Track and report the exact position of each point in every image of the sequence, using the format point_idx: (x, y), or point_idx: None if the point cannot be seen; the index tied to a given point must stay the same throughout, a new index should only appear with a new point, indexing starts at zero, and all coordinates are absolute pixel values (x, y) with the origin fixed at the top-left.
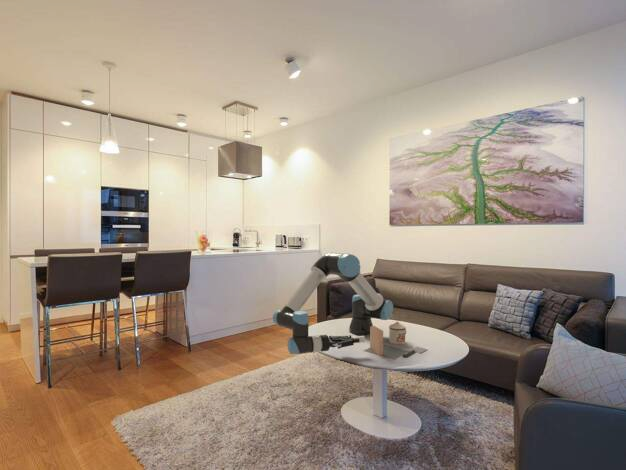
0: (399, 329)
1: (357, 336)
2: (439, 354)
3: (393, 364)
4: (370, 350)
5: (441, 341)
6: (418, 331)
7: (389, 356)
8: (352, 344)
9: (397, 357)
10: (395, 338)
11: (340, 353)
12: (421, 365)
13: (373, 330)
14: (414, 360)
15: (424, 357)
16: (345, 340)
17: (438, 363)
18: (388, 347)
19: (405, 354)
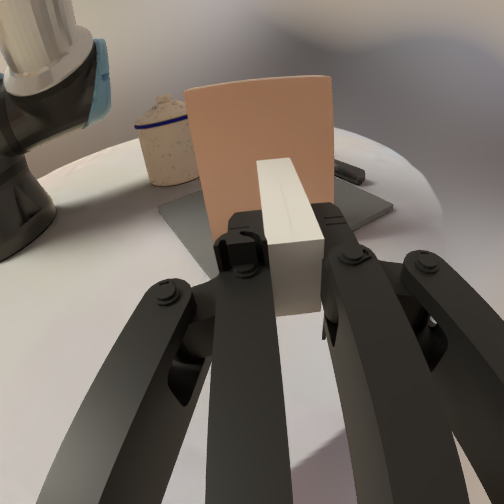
0: None
1: (261, 191)
2: None
3: (437, 223)
4: None
5: None
6: (138, 146)
7: (352, 208)
8: (430, 323)
9: (364, 192)
10: (192, 153)
11: (185, 481)
12: (421, 173)
13: (243, 99)
14: (377, 172)
15: (346, 155)
16: (428, 401)
17: (393, 151)
18: None
19: (356, 167)
